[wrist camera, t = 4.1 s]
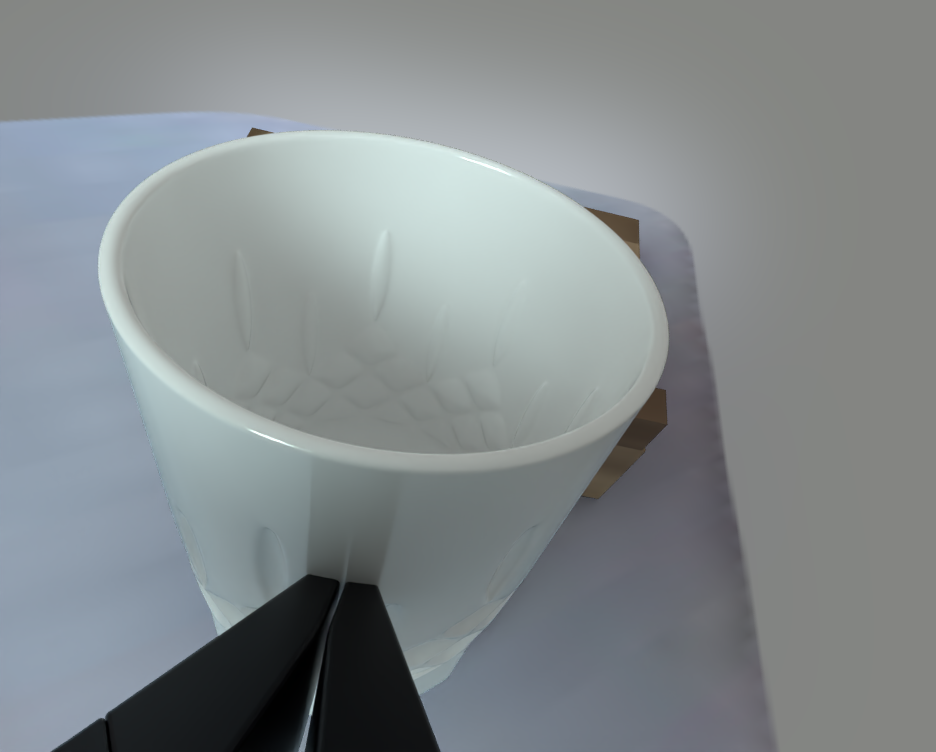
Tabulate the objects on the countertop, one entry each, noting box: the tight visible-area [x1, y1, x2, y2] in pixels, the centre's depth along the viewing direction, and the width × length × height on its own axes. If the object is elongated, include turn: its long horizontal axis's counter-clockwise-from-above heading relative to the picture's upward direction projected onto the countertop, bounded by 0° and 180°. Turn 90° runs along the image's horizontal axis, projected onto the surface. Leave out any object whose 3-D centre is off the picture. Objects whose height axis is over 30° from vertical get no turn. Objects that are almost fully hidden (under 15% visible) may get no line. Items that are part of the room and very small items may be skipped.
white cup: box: [98, 130, 669, 716], centre depth 12 cm, size 8×8×10 cm
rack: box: [247, 128, 667, 499], centre depth 19 cm, size 9×13×5 cm
